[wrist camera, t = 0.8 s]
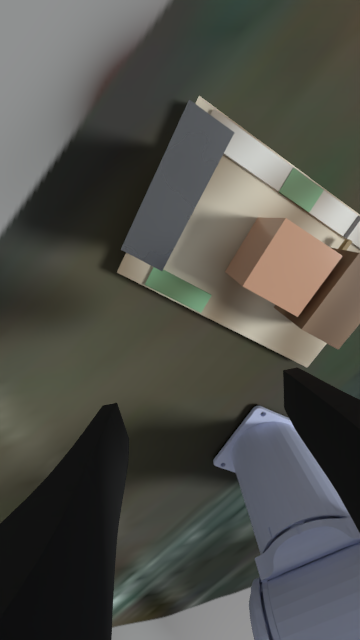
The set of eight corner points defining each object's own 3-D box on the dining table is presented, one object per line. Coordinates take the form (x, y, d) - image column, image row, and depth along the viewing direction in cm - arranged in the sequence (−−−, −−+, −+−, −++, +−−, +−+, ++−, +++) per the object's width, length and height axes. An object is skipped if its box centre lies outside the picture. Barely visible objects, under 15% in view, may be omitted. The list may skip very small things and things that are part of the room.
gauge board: (392, 246, 19) (406, 247, 18) (301, 361, 23) (308, 369, 21) (196, 102, 15) (199, 94, 14) (118, 269, 18) (116, 273, 17)
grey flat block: (203, 165, 16) (234, 132, 10) (160, 251, 18) (161, 271, 12) (176, 146, 16) (189, 99, 9) (134, 237, 18) (120, 249, 11)
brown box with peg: (360, 250, 18) (412, 259, 14) (304, 324, 20) (338, 349, 16) (328, 228, 17) (375, 232, 13) (273, 307, 19) (301, 329, 15)
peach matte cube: (304, 247, 18) (342, 256, 14) (270, 297, 19) (297, 316, 15) (257, 217, 17) (286, 217, 13) (224, 271, 18) (242, 286, 14)
